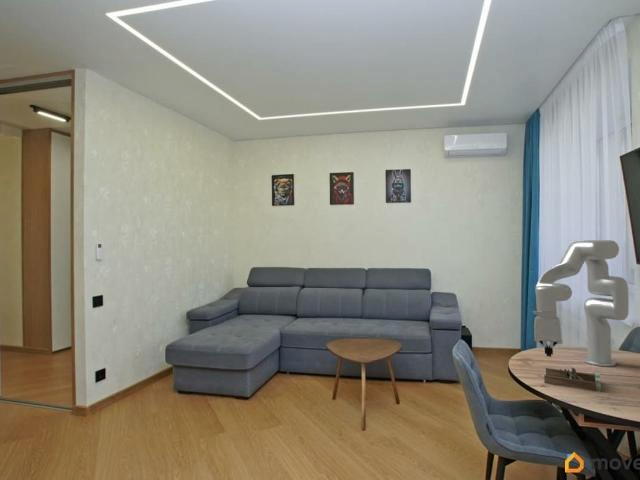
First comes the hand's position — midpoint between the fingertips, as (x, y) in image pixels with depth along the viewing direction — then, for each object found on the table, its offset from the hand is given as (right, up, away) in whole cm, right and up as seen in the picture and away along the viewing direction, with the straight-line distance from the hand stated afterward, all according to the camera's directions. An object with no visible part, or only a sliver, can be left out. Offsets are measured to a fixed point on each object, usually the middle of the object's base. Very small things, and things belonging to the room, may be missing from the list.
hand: (548, 355), depth 171 cm
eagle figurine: (+8, -10, -6) cm, 14 cm away
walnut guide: (+6, -10, -5) cm, 12 cm away
